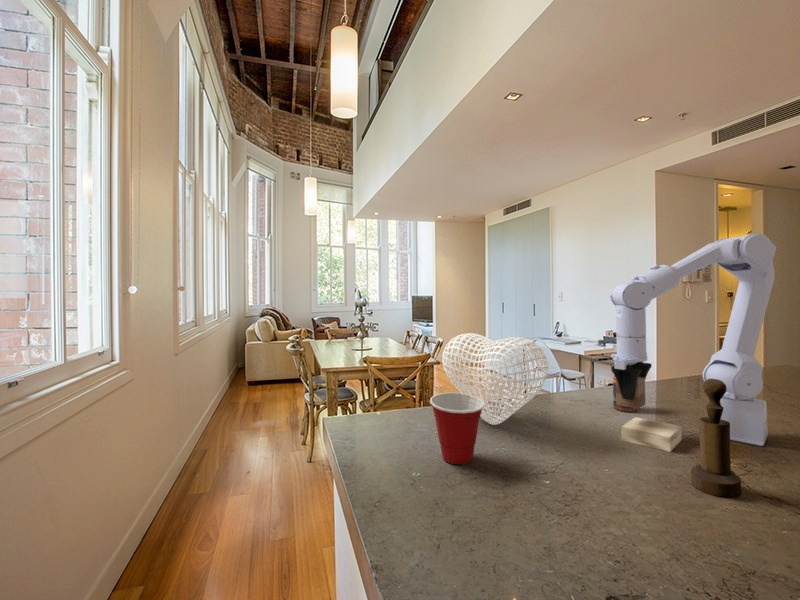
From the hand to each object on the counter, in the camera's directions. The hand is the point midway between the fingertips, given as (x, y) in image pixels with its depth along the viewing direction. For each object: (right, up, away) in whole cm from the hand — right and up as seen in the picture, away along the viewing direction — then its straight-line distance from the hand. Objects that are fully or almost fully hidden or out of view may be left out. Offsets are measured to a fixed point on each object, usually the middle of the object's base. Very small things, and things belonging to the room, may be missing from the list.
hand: (632, 396), depth 88 cm
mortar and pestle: (0, -10, -23) cm, 25 cm away
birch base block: (+3, -9, -3) cm, 10 cm away
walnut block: (0, -2, 0) cm, 2 cm away
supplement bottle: (+10, -8, +19) cm, 23 cm away
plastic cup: (-41, -10, -10) cm, 43 cm away
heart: (-29, -9, +10) cm, 32 cm away
